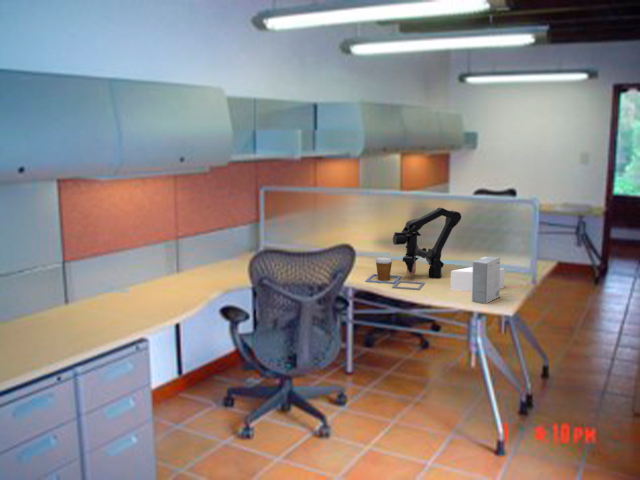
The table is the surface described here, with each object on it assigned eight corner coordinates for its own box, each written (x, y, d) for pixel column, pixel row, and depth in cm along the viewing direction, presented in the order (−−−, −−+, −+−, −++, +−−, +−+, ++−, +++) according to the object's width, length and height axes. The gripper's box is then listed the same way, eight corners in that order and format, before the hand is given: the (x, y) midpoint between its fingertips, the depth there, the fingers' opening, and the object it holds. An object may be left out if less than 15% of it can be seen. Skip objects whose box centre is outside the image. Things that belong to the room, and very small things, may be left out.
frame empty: (424, 283, 340) (424, 282, 340) (419, 290, 327) (419, 288, 327) (398, 281, 345) (398, 280, 345) (392, 288, 332) (392, 286, 331)
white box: (509, 291, 324) (510, 271, 322) (455, 293, 320) (455, 274, 318) (498, 284, 338) (499, 265, 336) (445, 286, 334) (446, 267, 332)
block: (415, 272, 353) (415, 262, 352) (414, 274, 349) (414, 263, 348) (408, 272, 354) (408, 261, 353) (406, 274, 350) (407, 263, 349)
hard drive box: (485, 295, 316) (486, 255, 313) (499, 297, 312) (501, 257, 308) (471, 301, 305) (472, 261, 301) (485, 304, 300) (487, 263, 296)
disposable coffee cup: (373, 281, 347) (373, 259, 345) (377, 277, 356) (377, 256, 354) (390, 282, 345) (390, 260, 342) (393, 278, 354) (394, 257, 351)
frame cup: (401, 277, 355) (401, 275, 355) (394, 284, 340) (394, 282, 340) (373, 275, 361) (373, 273, 361) (365, 281, 346) (365, 280, 345)
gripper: (423, 247, 337) (422, 276, 340) (429, 241, 355) (428, 269, 357) (402, 246, 341) (402, 274, 344) (409, 240, 358) (409, 267, 361)
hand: (411, 271), depth 351 cm, fingers closed on block, 4 cm apart
